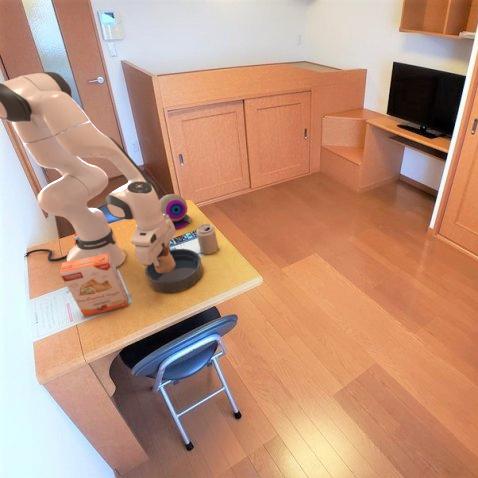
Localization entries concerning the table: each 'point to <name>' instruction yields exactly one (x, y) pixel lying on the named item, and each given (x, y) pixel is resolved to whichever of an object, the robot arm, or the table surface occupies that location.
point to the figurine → (165, 261)
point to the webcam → (175, 210)
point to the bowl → (177, 272)
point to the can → (207, 239)
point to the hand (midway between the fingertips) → (162, 258)
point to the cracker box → (94, 284)
